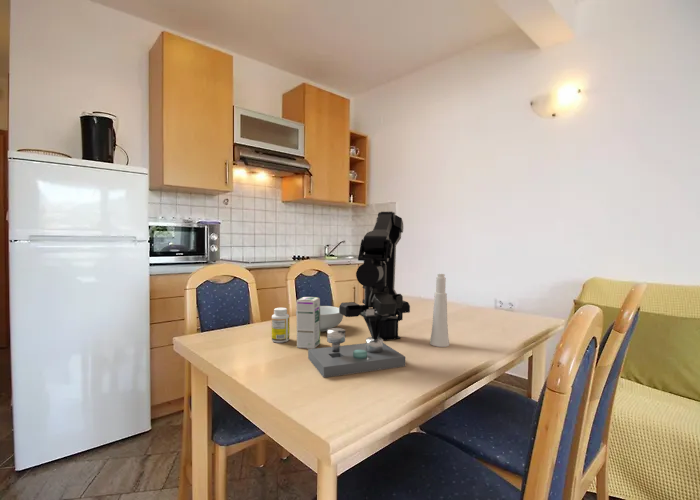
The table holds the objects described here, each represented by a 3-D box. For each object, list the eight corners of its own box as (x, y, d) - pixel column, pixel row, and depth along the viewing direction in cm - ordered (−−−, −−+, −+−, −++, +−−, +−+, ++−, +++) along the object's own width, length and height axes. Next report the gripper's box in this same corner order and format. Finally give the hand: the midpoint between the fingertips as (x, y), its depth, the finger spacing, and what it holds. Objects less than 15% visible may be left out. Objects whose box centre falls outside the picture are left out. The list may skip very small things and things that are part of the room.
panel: (380, 349, 104) (380, 341, 103) (405, 366, 91) (405, 356, 90) (308, 358, 95) (308, 349, 95) (323, 377, 82) (323, 367, 82)
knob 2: (378, 355, 98) (378, 336, 98) (385, 361, 94) (386, 340, 94) (363, 357, 96) (363, 337, 96) (370, 363, 92) (370, 342, 92)
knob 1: (341, 347, 94) (341, 327, 94) (347, 353, 90) (347, 331, 89) (324, 349, 92) (325, 328, 92) (330, 355, 88) (330, 333, 88)
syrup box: (314, 349, 103) (315, 300, 103) (295, 347, 105) (296, 299, 104) (320, 343, 109) (320, 297, 108) (302, 342, 110) (302, 296, 110)
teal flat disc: (363, 353, 92) (363, 349, 92) (369, 357, 89) (369, 353, 89) (350, 355, 91) (351, 350, 91) (356, 359, 88) (356, 354, 88)
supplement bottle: (281, 337, 115) (282, 306, 115) (292, 340, 112) (293, 308, 112) (267, 340, 111) (268, 308, 111) (278, 344, 108) (279, 311, 107)
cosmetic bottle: (453, 345, 109) (455, 274, 108) (439, 348, 106) (441, 275, 105) (439, 340, 114) (441, 272, 113) (425, 343, 111) (427, 273, 110)
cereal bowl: (348, 325, 133) (348, 306, 133) (336, 337, 117) (336, 315, 117) (305, 322, 137) (305, 304, 137) (288, 333, 121) (288, 312, 120)
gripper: (354, 287, 83) (353, 352, 84) (421, 284, 90) (420, 344, 91) (338, 281, 94) (338, 339, 94) (400, 279, 101) (399, 333, 101)
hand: (374, 339), depth 95 cm, fingers closed, pressing on knob 2
